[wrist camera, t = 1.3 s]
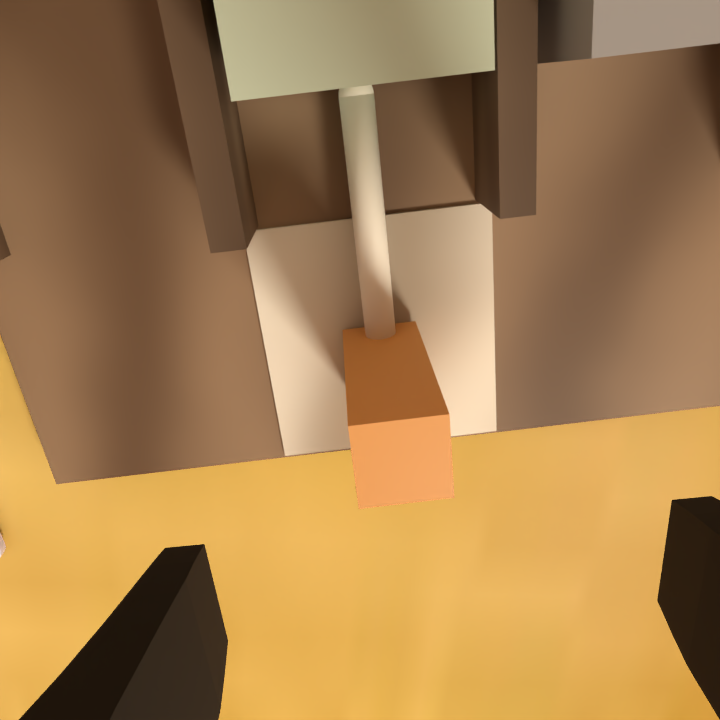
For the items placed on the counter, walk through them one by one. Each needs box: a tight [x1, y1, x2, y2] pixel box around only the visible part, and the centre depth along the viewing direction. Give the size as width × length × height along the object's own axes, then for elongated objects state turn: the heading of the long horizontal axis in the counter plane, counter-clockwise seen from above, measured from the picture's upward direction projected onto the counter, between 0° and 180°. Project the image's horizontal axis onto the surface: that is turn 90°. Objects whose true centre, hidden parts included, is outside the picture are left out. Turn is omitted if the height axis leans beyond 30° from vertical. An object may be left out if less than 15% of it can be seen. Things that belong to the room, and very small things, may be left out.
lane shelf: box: [0, 0, 720, 484], centre depth 14 cm, size 20×18×4 cm
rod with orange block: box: [213, 0, 495, 509], centre depth 12 cm, size 5×14×5 cm, turn 6°
